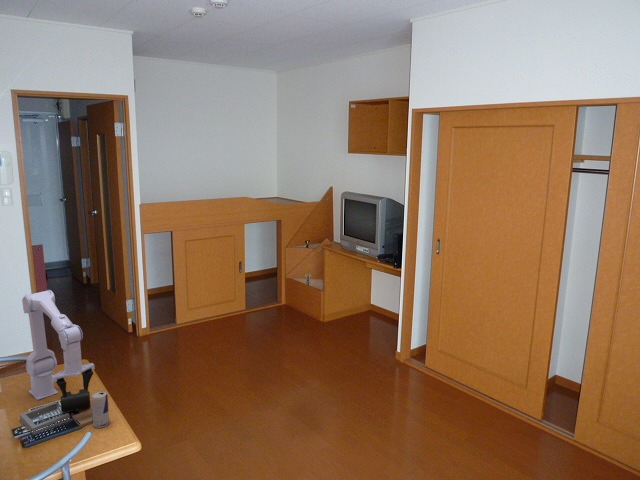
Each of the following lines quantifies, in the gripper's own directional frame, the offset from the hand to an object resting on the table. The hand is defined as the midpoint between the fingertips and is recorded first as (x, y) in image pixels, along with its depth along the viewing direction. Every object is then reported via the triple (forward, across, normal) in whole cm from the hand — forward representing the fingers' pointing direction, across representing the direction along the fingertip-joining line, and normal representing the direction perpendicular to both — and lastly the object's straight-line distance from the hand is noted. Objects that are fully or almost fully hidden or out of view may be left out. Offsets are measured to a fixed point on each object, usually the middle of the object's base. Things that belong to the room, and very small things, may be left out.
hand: (75, 392), depth 184 cm
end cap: (+10, +2, +6) cm, 12 cm away
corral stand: (+10, -9, +6) cm, 15 cm away
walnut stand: (+10, +2, -4) cm, 11 cm away
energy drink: (+10, +4, -11) cm, 16 cm away
